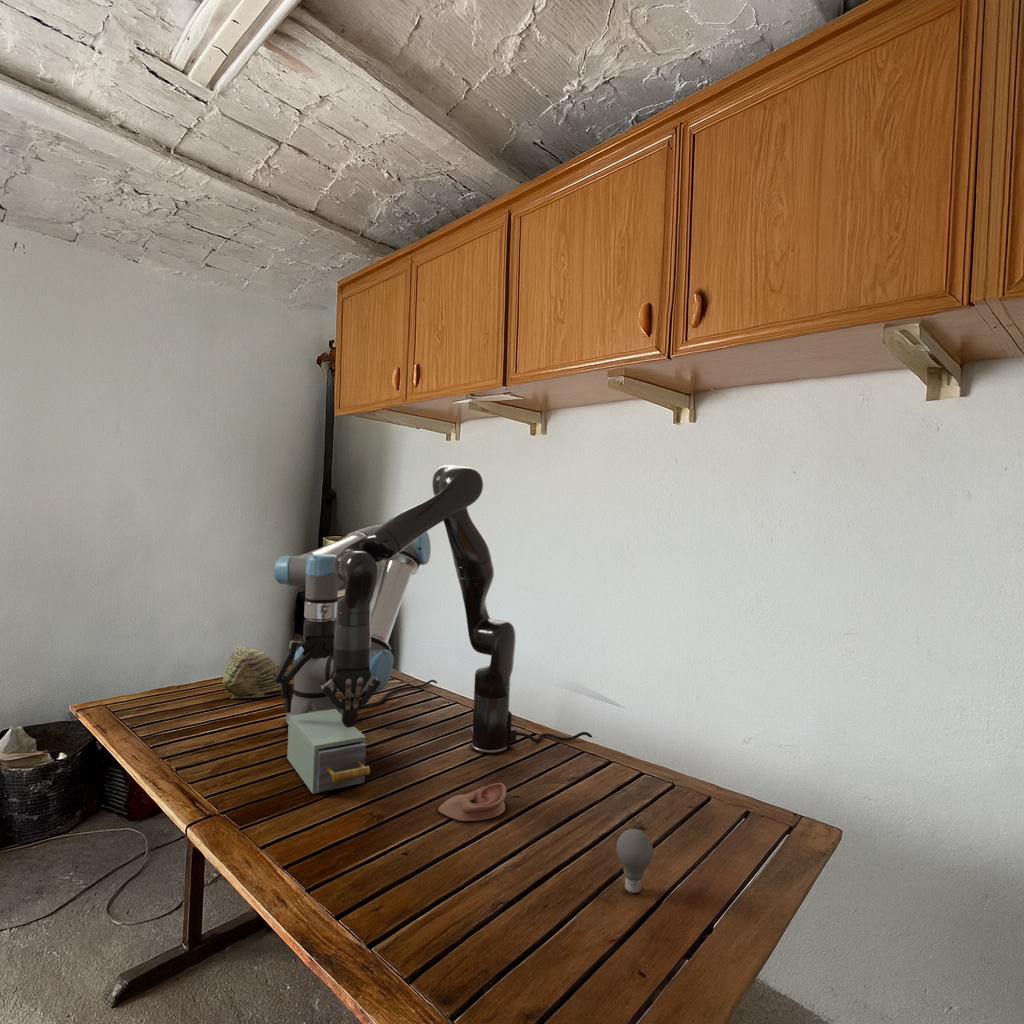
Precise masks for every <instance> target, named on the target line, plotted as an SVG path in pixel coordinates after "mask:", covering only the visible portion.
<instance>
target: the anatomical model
mask: <svg viewBox="0 0 1024 1024" xmlns="http://www.w3.org/2000/svg"><path fill="white" fill-rule="evenodd" d="M506 797H507V788H506V785H505V784H504V783H502V782H496V783H491V784H488V785H484V786H482V787H480V788H477V789H475V790H473V791H470V792H467V793H464V794H458V795H454V796H452V797H450V798H449V799H446V800H445V801H444V802H443V803H441V805H439V807H438V812H439V813H440V814H442V815H444V816H445V817H448V818H450V819H453V820H457V821H460V822H474V821H476V822H477V821H484V820H489V819H492V818H496V817H498V816H500V815H502V814H503V813H504V812H505V810H506V804H505V803H506V802H505V799H506Z"/></svg>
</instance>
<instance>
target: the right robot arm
mask: <svg viewBox="0 0 1024 1024" xmlns="http://www.w3.org/2000/svg"><path fill="white" fill-rule="evenodd" d="M431 484H432V486H431V487H432V492H433V497H432V496H431V497H430V498H429V499H427V500H425V501H422V502H421V503H419V504H417V505H414V506H411V507H410V508H408V509H405V510H403V511H401V512H400V513H397V514H396V515H394V516H392V517H391V518H389V519H388V520H387V521H386V522H384V523H383V524H381V525H382V526H381V527H379V528H378V529H377V530H376V531H374V532H373V533H372V534H370V535H368V536H366V537H364V538H362V539H360V540H358V541H356V542H355V543H353V544H351V545H349V546H348V547H346V548H345V549H343V550H342V551H341V552H340V553H339V554H338V555H337V556H336V558H335V560H334V563H333V571H334V573H335V575H336V576H337V577H338V578H339V579H341V580H343V581H346V582H347V583H346V589H345V590H344V594H343V595H341V596H339V597H338V598H337V612H336V618H335V620H336V628H335V634H334V658H333V672H332V674H331V677H330V678H331V679H330V680H329V681H328V682H327V683H326V684H321V685H320V689H321V690H322V691H323V692H324V693H325V695H326V696H327V697H328V698H329V699H330V701H331V702H332V703H333V704H334V705H335V706H336V707H337V708H338V709H342V723H343V724H344V725H345V726H346V727H347V728H349V727H355V724H357V722H358V709H359V708H358V707H359V706H361V705H367V704H368V702H370V699H371V698H372V697H373V696H374V692H375V691H376V689H377V688H378V687H379V685H380V683H381V682H380V681H379V680H378V679H377V678H375V677H373V676H371V671H370V668H369V667H370V649H371V628H370V619H371V601H372V598H373V595H374V591H375V589H376V586H377V584H378V580H379V579H378V578H379V565H378V563H379V562H382V560H387V559H391V558H393V557H394V556H396V555H397V554H398V553H400V552H401V551H402V550H403V549H405V548H406V547H407V546H408V545H409V544H411V543H412V542H413V541H414V540H416V539H417V538H418V537H420V536H421V535H422V534H424V533H425V532H426V531H427V532H428V531H430V530H431V529H433V528H434V527H435V526H437V525H439V524H440V523H442V522H443V524H444V527H445V531H446V534H447V538H448V542H449V546H450V550H451V553H452V559H453V563H454V564H453V565H454V567H455V572H456V576H457V579H458V583H459V587H460V590H461V595H462V601H463V604H464V611H465V618H466V625H467V633H468V638H469V643H470V645H471V647H472V649H473V650H474V651H475V652H476V653H478V654H482V655H486V656H490V662H489V665H485V666H482V667H479V668H477V669H476V670H475V672H474V686H473V687H474V688H473V689H474V690H473V708H472V709H473V710H472V712H473V713H472V726H471V745H470V747H471V749H472V750H473V751H475V752H476V753H480V754H484V755H497V754H503V753H505V752H506V751H508V750H511V744H512V743H516V742H517V737H518V736H519V737H525V738H528V739H529V740H530V741H532V742H534V743H539V742H540V741H541V739H542V738H544V737H549V738H554V739H556V740H557V741H558V740H559V741H562V742H568V741H573V740H576V739H578V738H579V737H583V736H587V737H588V738H593V735H592V734H591V733H589V732H587V731H580V732H579V733H577V734H575V735H572V736H569V737H563V736H559V735H557V734H553V733H549V732H543V733H541V734H539V736H537V738H534V737H533V736H532V735H530V734H528V733H525V732H519V731H517V729H516V728H515V727H514V726H512V721H513V718H512V716H513V713H512V712H511V711H510V697H511V696H510V695H511V693H510V692H511V676H512V674H513V670H514V663H515V662H514V661H515V653H516V652H515V651H516V641H517V640H516V639H517V638H516V637H517V636H516V635H517V634H516V630H515V627H514V625H513V624H512V623H511V622H509V621H505V620H500V619H494V618H491V617H490V614H489V611H488V607H487V596H488V594H489V592H490V589H491V586H492V584H493V581H494V577H495V570H494V564H493V560H492V554H491V551H490V548H489V545H488V544H487V542H486V540H485V539H484V537H483V536H482V534H481V532H480V531H479V529H478V528H477V527H476V525H475V523H474V522H473V521H472V518H471V516H470V514H469V511H468V507H470V506H471V505H473V504H474V503H475V502H477V501H478V500H479V498H480V497H481V495H482V493H483V491H484V490H483V489H484V481H483V477H482V475H481V474H480V473H479V472H478V471H477V470H476V469H474V468H472V467H468V466H460V465H452V464H445V465H442V466H440V467H438V468H437V469H436V470H435V472H434V473H433V477H432V481H431ZM366 683H367V686H366V687H365V689H364V690H363V692H362V693H361V690H362V689H363V688H364V686H365V685H366ZM333 685H335V686H336V687H337V691H339V695H340V699H339V697H338V698H337V697H336V696H335V695H334V693H333V691H334V687H333ZM571 737H572V738H571Z"/></svg>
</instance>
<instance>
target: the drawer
mask: <svg viewBox="0 0 1024 1024" xmlns="http://www.w3.org/2000/svg"><path fill="white" fill-rule="evenodd" d="M366 753H367V744H366V742H365V743H361V744H358V742H356V743H350V744H345V745H339V746H334V747H328V748H323V749H318V773H317V791H318V793H317V794H319V793H323V792H328V791H333V790H336V789H342V788H346V787H350V786H354V785H360V784H364V783H365V782H366V781H365V780H366V776H369V775H371V769H370V768H371V767H370V766H369V765H366V757H367V755H366Z"/></svg>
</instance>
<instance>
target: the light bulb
mask: <svg viewBox="0 0 1024 1024" xmlns="http://www.w3.org/2000/svg"><path fill="white" fill-rule="evenodd" d="M615 849H616V854H617V857H618V859H619V861H620V863H621V865H622V867H623V873H624V874H623V875H624V876H625V878H624V888H625V890H627V891H628V892H630V893H634V894H635V893H639V892H640V891H641V889H642V887H641V886H642V879H643V877H644V875H645V871H646V868H647V867H648V866H649V864H650V863H651V861H652V859H653V855H654V847H653V843H652V841H651V838H649V836H648V835H647V834H646V833H645V832H643V831H642V830H641V829H636V828H629V829H627V830H625V831H623V832H622V833H621V834H620V835H619V837H618V839H617V841H616V847H615Z"/></svg>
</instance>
